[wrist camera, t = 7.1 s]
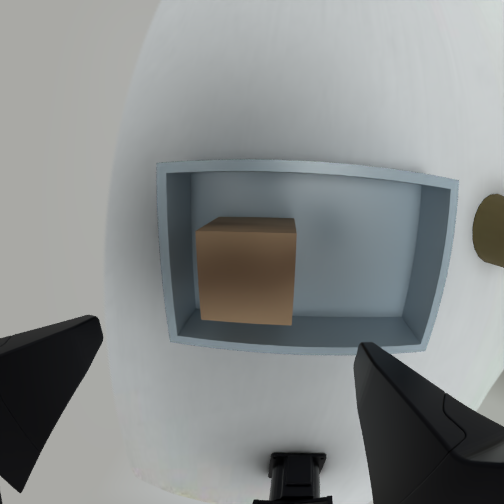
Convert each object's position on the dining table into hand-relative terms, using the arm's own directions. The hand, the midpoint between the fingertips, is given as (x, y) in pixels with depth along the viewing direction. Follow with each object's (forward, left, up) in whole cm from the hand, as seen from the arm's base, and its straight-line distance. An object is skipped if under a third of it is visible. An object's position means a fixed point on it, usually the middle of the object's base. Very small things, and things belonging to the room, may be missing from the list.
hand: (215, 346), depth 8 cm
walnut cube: (0, 0, -11) cm, 11 cm away
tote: (0, -4, -12) cm, 12 cm away
